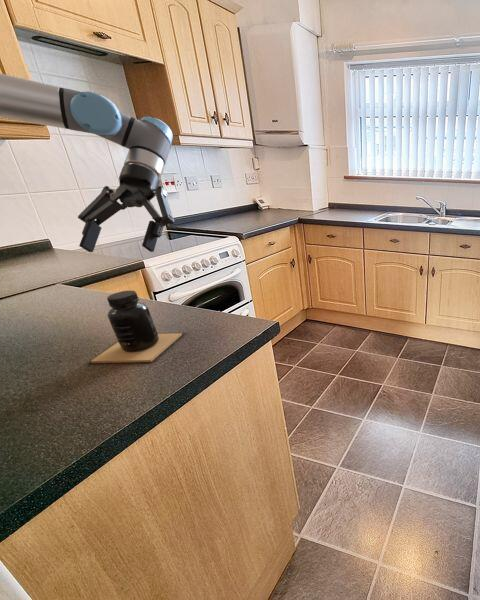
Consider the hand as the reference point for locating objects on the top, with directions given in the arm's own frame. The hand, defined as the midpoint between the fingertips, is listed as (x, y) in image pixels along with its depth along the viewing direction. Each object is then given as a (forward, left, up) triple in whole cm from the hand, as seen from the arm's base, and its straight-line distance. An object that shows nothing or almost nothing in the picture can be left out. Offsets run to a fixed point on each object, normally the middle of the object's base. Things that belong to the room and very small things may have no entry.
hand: (116, 249), depth 75 cm
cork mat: (+6, -11, -19) cm, 23 cm away
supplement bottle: (+6, -10, -19) cm, 22 cm away
